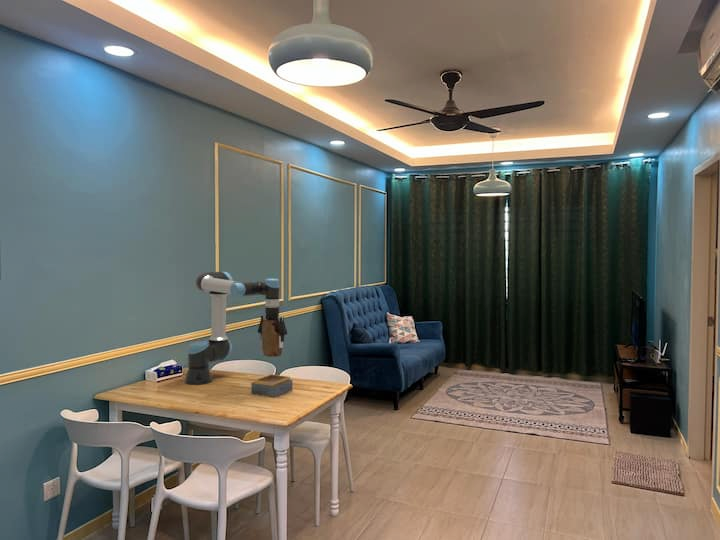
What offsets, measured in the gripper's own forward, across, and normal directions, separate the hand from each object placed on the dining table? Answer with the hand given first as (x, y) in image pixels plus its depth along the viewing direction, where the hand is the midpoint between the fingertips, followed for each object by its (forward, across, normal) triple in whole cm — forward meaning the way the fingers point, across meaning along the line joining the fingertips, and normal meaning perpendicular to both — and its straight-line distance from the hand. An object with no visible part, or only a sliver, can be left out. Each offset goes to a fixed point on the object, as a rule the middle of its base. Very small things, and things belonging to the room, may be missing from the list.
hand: (272, 346), depth 293 cm
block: (+5, 0, 0) cm, 5 cm away
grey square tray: (+25, 0, 0) cm, 25 cm away
